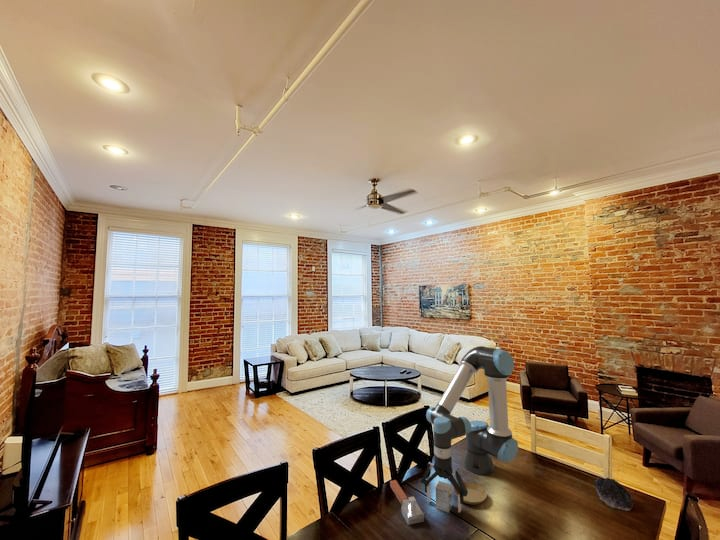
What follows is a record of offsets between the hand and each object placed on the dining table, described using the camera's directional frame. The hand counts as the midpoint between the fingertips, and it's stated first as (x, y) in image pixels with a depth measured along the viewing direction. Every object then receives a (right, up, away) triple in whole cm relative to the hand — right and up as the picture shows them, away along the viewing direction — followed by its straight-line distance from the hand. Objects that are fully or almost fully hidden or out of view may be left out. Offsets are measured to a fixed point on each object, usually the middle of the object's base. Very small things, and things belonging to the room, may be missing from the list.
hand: (444, 505), depth 139 cm
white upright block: (0, -1, 0) cm, 1 cm away
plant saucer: (+14, -2, +7) cm, 15 cm away
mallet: (-17, -1, +3) cm, 18 cm away
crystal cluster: (+77, -1, +3) cm, 77 cm away
